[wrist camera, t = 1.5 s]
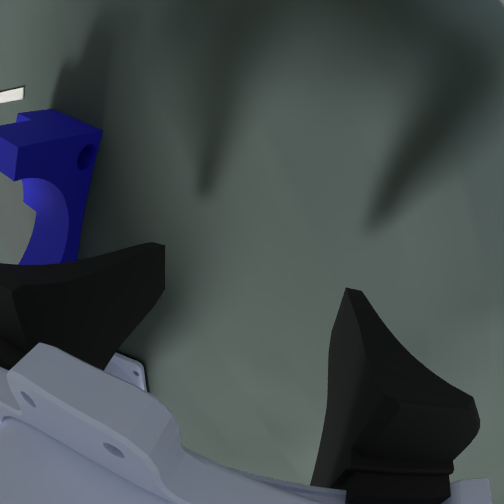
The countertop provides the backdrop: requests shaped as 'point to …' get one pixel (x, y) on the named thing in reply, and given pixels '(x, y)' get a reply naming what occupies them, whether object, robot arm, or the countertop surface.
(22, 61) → the countertop surface
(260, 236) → the countertop surface
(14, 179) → the blue mounting bracket
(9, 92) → the lane marks
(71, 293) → the robot arm
